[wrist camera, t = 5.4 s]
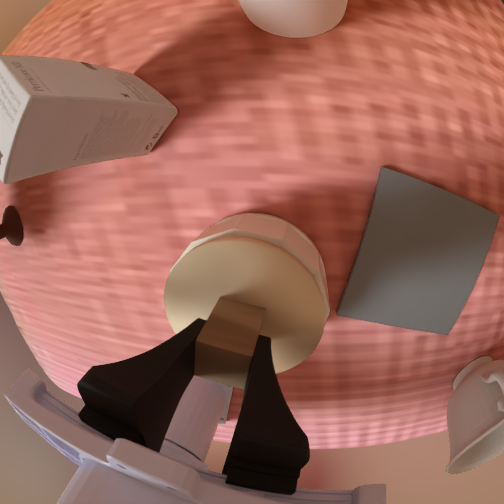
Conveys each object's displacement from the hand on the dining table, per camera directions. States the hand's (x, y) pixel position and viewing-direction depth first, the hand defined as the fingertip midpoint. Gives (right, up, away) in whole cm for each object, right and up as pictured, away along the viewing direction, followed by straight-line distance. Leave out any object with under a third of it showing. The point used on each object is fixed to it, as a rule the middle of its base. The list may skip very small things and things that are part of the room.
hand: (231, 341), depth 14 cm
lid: (0, +1, +2) cm, 3 cm away
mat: (+14, +4, +3) cm, 15 cm away
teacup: (+25, -8, +6) cm, 26 cm away
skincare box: (-7, +15, +3) cm, 17 cm away
